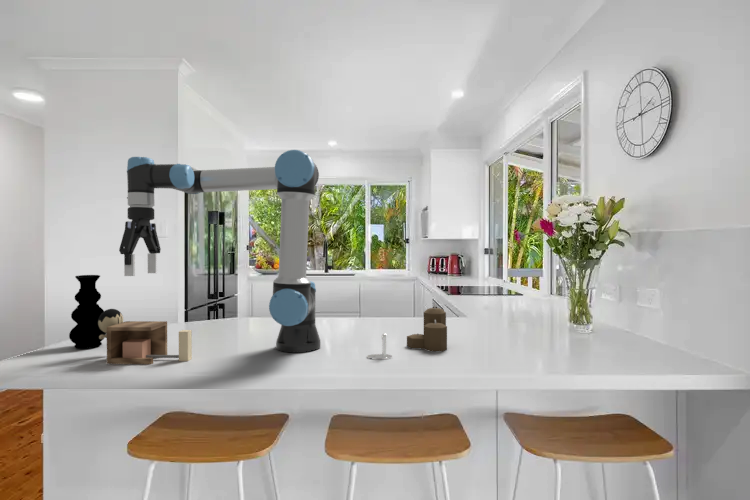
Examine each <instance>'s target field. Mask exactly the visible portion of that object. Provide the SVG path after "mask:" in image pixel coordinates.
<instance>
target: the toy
mask: <svg viewBox="0 0 750 500" xmlns="http://www.w3.org/2000/svg"><path fill="white" fill-rule="evenodd" d="M122 322H124V315H123V314H122V313H121V311H120V310H118V309H115V308H109V309H105V310H104V312H103V313H102V314H101V315H100V317H99V319H98V325H99V328H100V329H101V330H102V331H103V332H105V333H106V334H105V335H103V334H102V335H100V336H99V339H103V340H104V339H105V338H106V339H107V327H109V326H112V325H116V324H119V323H122Z"/></svg>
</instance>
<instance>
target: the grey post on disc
mask: <svg viewBox="0 0 750 500" xmlns="http://www.w3.org/2000/svg"><path fill="white" fill-rule="evenodd" d="M381 340H382V341H381V342H382V344H381V347H382V348H381V352H382V353H380V354H377V353H376V354H374V353H373V354H368V355H367V356H366V358H367V357H368V358H373V359H372V360H374V359H376V360H390V359H389V358H391V359H393V355H391V354H387V333H382V335H381ZM368 358H367V359H368Z"/></svg>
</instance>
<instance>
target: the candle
mask: <svg viewBox="0 0 750 500" xmlns="http://www.w3.org/2000/svg"><path fill="white" fill-rule="evenodd" d="M407 346H408V348H409V349H410V348H411V349H412V348H421V349H420V350H425V349H426V350H425V351H428V352H436V351H442V352H444V351H446V350H448V326H447V312H446V311H445V310H444V309H443V308H440V307H437V306H436V303H435V302H434V303H433V307H429V308H427V309H425V310H424V311H423V334H422V333H414V334H410V335H407V336H406V347H407Z"/></svg>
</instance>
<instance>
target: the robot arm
mask: <svg viewBox="0 0 750 500" xmlns="http://www.w3.org/2000/svg"><path fill="white" fill-rule="evenodd" d="M126 167H127V169H126V176H127V197H126V199H127V206H128V207H127V219H128V221H124V231H123V235H122V237H121V242H120V246H119V249H118V250H119V253H120V255H123V256H124V257H123V258H124V259H123V260H124V269H123V270H124V271H123V273H124V277H135V276H136V266H135V263H136V262H135V259H136V257H135V256H136V254H134V252H135V250H136V247H137V244H138V242H139V241H140V238H142V240H143V242H144V244H145V246H146V248H147V251H148V253H147V274H157V273H158V254H160V253H161V250H162V248H161V244H160V241H159V238H158V237H159V236H158V233H157V226H156V223H151V221H153V220H155V209H154V208H153V207H155V189H172V190H175V191H179V192H183V193H186V194H188V195H198V194H201V193H212V192H213V193H216V192H218V193H219V192H238V191H239V192H240V191H241V192H242V191H261V190H262V191H263V190H264V191H265V190H266V191H267V190H276V194H277V196H278V197H279V198H280V199H281V204H280V205H281V207H280V208H281V209H280V232H279V235H280V236H279V253H278V255H279V256H278V258H279V259H278V260H279V261H278V274H277V275H278V276H277V277H276V278H275V279H274V280H272V281H273V284H272V296H271V298H270V300H269V304H268V309H269V310H268V311H269V314H270V316H271V318H272V319H273V321H275V322H276V323H277V324H279V325H280V330H279V332H278V335H277V338H276V342H275V344H276V345H275V349H276V350H277V351H279V352H283V351H284V353H306V351H307V352H312V351H311V350H313V351H316V350H315V349H317V350H319V349H320V348H321V338H320V335H319V331H318V328H317V326H316V292H317V288H316V284H315V282H314V281H312V280H311V281H310V279H309V278H308V277H307V267H308V262H307V261H308V240H309V236H308V235H309V221H310V219H309V216H310V215H309V214H310V202H311V200H312V199H313V198H314V197H315V191H316V190H315V188H316V185H317V183H318V181H319V177H320V173H319V168H318V167H317V165H316V164H315V162H314V160H313V159H312V158H311V156H310V155H309V154H308V153H306V152H304V151H302V150H299V149H290V150H287V151H284V152H283V153H282V154H280V155H279V156H278V157H277V160H276V161H275V164H274V166H265V167H264V166H263V167H245V168H223V169H222V168H221V169H220V168H219V169H202V170H193V168H192V166H191V165H189V164H182V163H176V164H174V163H172V164H171V163H169V164H156V163H155V161H154V159H153V158H150V157H147V156H131V157H129V158H128V159H127V166H126ZM129 220H131V221H129ZM318 348H319V349H318Z"/></svg>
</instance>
